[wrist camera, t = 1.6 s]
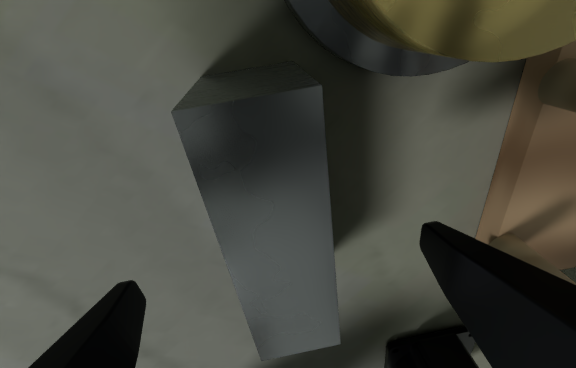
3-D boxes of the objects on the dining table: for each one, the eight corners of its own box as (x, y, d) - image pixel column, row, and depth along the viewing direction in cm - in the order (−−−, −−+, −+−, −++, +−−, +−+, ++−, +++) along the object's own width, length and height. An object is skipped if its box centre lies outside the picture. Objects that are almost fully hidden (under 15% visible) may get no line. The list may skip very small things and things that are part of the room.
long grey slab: (316, 260, 15) (340, 344, 11) (257, 272, 15) (261, 360, 11) (291, 60, 10) (322, 85, 6) (201, 76, 10) (171, 111, 6)
